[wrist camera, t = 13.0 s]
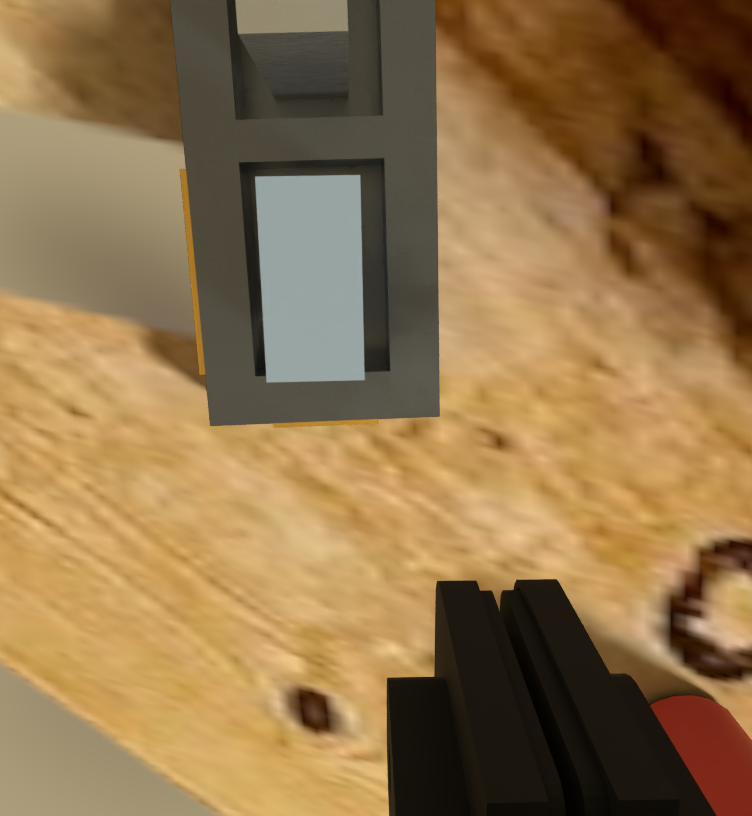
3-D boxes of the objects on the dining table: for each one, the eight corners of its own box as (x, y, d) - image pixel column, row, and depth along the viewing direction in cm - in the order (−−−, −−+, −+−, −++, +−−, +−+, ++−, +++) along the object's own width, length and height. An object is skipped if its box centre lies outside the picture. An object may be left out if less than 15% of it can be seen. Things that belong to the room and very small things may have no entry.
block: (356, 193, 30) (360, 174, 20) (359, 333, 31) (364, 380, 22) (285, 194, 30) (254, 176, 20) (292, 335, 31) (266, 382, 21)
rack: (421, -149, 28) (466, -387, 17) (429, 401, 33) (467, 481, 22) (171, -144, 27) (57, -382, 17) (220, 409, 33) (159, 494, 22)
